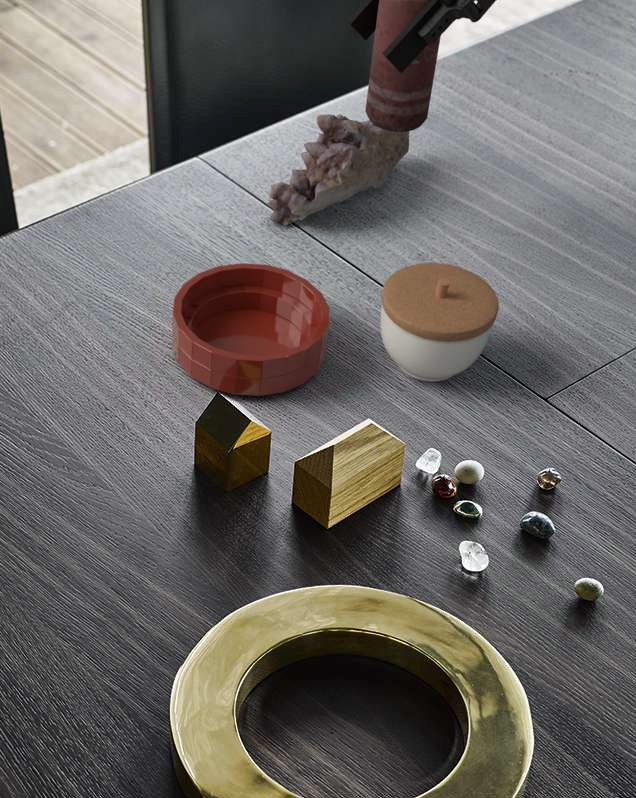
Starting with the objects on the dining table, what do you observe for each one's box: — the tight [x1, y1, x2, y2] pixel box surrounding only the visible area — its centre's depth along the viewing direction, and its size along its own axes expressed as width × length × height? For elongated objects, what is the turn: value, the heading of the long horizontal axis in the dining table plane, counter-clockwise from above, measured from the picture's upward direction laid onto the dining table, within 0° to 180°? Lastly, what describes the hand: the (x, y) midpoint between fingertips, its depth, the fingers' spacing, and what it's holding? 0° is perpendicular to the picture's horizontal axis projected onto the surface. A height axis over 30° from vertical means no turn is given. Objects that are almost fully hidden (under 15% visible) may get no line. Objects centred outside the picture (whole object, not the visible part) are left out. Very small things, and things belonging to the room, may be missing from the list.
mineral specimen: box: [267, 113, 410, 226], centre depth 138 cm, size 20×10×10 cm
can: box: [365, 0, 442, 132], centre depth 118 cm, size 6×6×14 cm
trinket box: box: [379, 262, 500, 383], centre depth 117 cm, size 11×11×9 cm
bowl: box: [171, 262, 331, 397], centre depth 119 cm, size 15×15×5 cm
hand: (373, 46), depth 116 cm, fingers closed on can, 6 cm apart
